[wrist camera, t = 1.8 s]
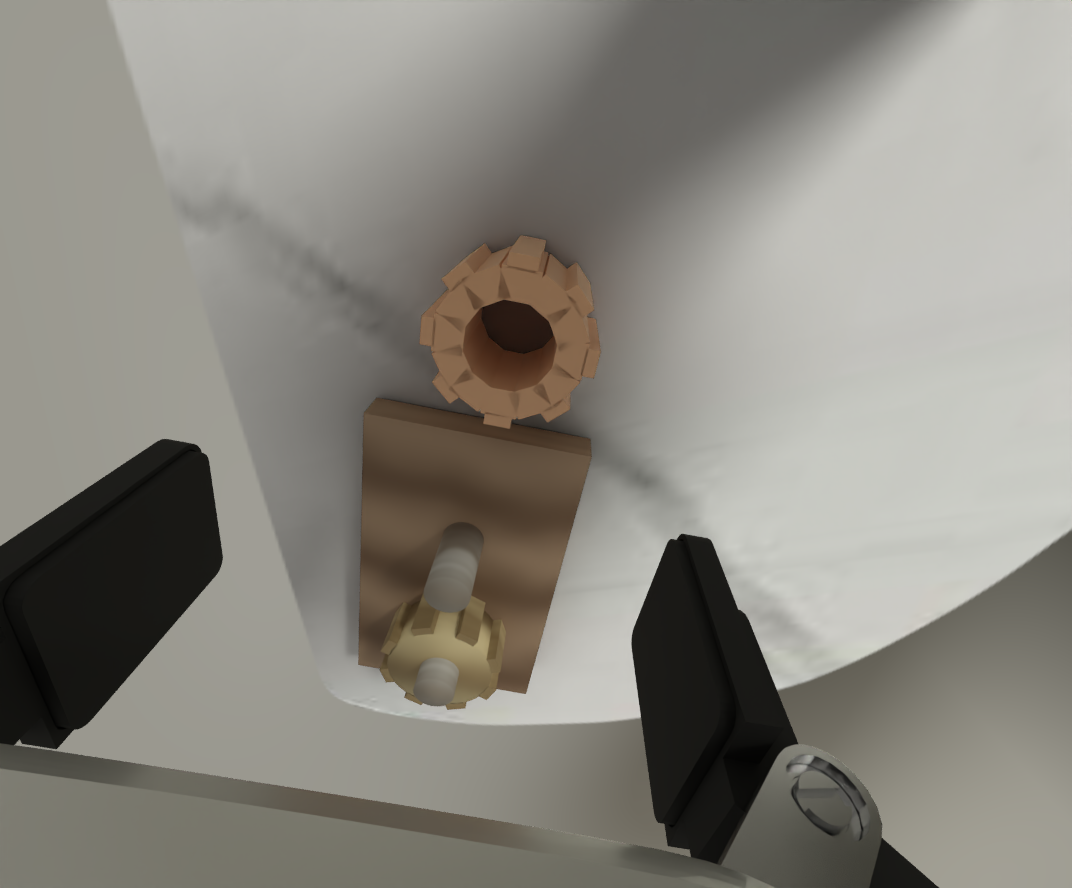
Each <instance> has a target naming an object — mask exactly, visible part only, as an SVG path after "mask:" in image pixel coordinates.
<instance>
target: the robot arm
mask: <svg viewBox="0 0 1072 888" xmlns="http://www.w3.org/2000/svg"><path fill="white" fill-rule="evenodd" d="M222 560H223V555H222V548H221V541H220V535H219V527H218V521H217V513H216V508H215V500H214V493H213V486H212V479H211V473H210V466H209V460H208V457H207V455H205V454H204V453H202V452H201V449H200V448H199V447H198V446H197V445H195V444H191V443H185V442H180V441H174V440H169V439H162V440H160V441H157V442H156V443H154V444H153V445H152V446H150V447H149V448H147V449H145V450H144V451H142V452H141V453H139V454H138V455H136V456H135V457H133V458H132V459H130V460H129V461H127V462H126V463H124V464H123V465H121V466H120V467H118V468H117V469H115V470H114V471H113V472H111V473H109V474H108V475H106V476H105V477H103V478H102V479H100V480H99V481H97V482H96V483H94V484H93V485H91V486H90V487H88V488H87V489H85V490H84V491H83V492H81V493H79V494H78V495H76V496H75V497H73V498H72V499H70V500H69V501H67V502H66V503H64V504H63V505H61V506H60V507H58V508H57V509H55V510H54V511H53V512H51V513H49V514H48V515H46V516H45V517H44V518H42V519H40V520H39V521H37V522H36V523H34V524H33V525H31V526H30V527H28V528H27V529H25V530H24V531H22V532H21V533H19V534H18V535H16V536H15V537H13V538H12V539H10V540H9V541H7V542H6V543H4V544H3V545H2V546H0V888H939V887H938V886H936V885H935V884H934V883H933V882H932V881H931V880H929V879H928V878H927V877H926V876H925V875H924V874H923V873H921V872H920V871H919V870H918V869H917V868H916V867H915V866H913V865H912V864H911V863H910V862H909V861H908V860H907V859H905V858H904V857H903V856H902V855H901V854H900V853H898V852H897V851H896V850H895V849H894V848H893V847H892V846H891V845H889V844H888V843H887V842H886V841H885V840H884V839H883V838H882V822H881V818H880V815H879V811H878V808H877V806H876V804H875V802H874V800H873V799H872V797H871V795H870V793H869V791H868V790H867V789H866V787H865V786H864V785H863V784H862V782H861V781H860V780H859V779H858V778H857V776H856V775H855V774H854V773H853V772H852V771H851V770H850V769H849V768H847V767H846V766H845V765H844V764H843V763H842V762H841V761H839V760H838V759H836V758H834V757H833V756H831V755H830V754H828V753H827V752H825V751H823V750H820V749H817V748H815V747H812V746H809V745H799V744H798V742H797V739H796V737H795V734H794V732H793V729H792V727H791V725H790V722H789V719H788V717H787V715H786V712H785V709H784V708H783V705H782V702H781V699H780V697H779V694H778V692H777V689H776V687H775V685H774V682H773V680H772V677H771V675H770V672H769V670H768V667H767V665H766V662H765V660H764V657H763V655H762V652H761V650H760V647H759V645H758V642H757V640H756V637H755V635H754V632H753V630H752V627H751V625H750V622H749V620H748V618H747V616H746V615H745V614H744V613H743V612H742V611H741V610H738V608H737V605H736V603H735V600H734V598H733V595H732V592H731V590H730V587H729V585H728V582H727V580H726V577H725V574H724V572H723V569H722V567H721V564H720V561H719V559H718V556H717V554H716V551H715V549H714V546H713V543H712V542H711V540H710V539H708V538H703V537H697V536H692V535H686V534H681V535H680V536H679V537H678V538H677V540H674V539H670V540H669V541H668V543H667V545H666V548H665V551H664V553H663V556H662V558H661V561H660V563H659V566H658V568H657V571H656V573H655V576H654V578H653V581H652V583H651V586H650V588H649V591H648V594H647V596H646V599H645V601H644V604H643V606H642V609H641V611H640V614H639V616H638V619H637V621H636V624H635V626H634V629H633V633H632V653H633V660H634V668H635V675H636V683H637V690H638V698H639V705H640V712H641V720H642V727H643V735H644V742H645V750H646V757H647V765H648V772H649V779H650V787H651V794H652V802H653V809H654V814H655V818H656V820H657V822H658V823H664V824H665V830H666V837H667V843H668V846H671V847H677V848H683V849H690V854H691V857H688V856H684V855H680V854H675V853H671V852H667V851H663V850H659V849H654V848H648V847H643V846H638V845H632V844H627V843H622V842H616V841H611V840H605V839H600V838H594V837H588V836H583V835H577V834H572V833H567V832H561V831H556V830H550V829H544V828H538V827H532V826H526V825H519V824H513V823H507V822H501V821H495V820H489V819H483V818H477V817H470V816H465V815H459V814H452V813H446V812H440V811H434V810H428V809H421V808H416V807H410V806H404V805H398V804H391V803H385V802H378V801H372V800H366V799H360V798H353V797H347V796H341V795H335V794H328V793H322V792H316V791H310V790H303V789H297V788H291V787H284V786H278V785H271V784H265V783H258V782H253V781H246V780H239V779H233V778H227V777H221V776H214V775H208V774H202V773H195V772H188V771H182V770H175V769H169V768H162V767H156V766H149V765H142V764H136V763H130V762H123V761H117V760H110V759H103V758H97V757H90V756H83V755H77V754H70V753H64V752H57V751H51V750H44V749H37V748H30V747H22V746H14V745H15V744H16V742H17V741H18V740H19V739H20V740H21V742H22V744H27V745H33V746H40V747H47V748H52V749H57V748H58V747H59V746H60V745H61V744H62V743H63V741H64V740H65V739H66V738H67V737H68V736H69V735H70V733H71V732H72V731H73V730H74V729H80V728H82V727H83V726H85V725H86V724H88V722H90V720H92V718H93V717H94V716H95V715H96V714H97V713H98V712H99V710H100V709H101V708H102V707H103V706H104V705H105V703H106V702H107V701H108V700H109V699H110V697H111V696H112V695H113V694H114V693H115V691H117V690H118V688H119V687H120V686H121V685H122V684H123V683H124V681H125V680H126V679H127V678H128V677H129V676H130V674H131V673H132V672H133V671H134V670H135V669H136V667H137V666H138V665H139V664H140V663H141V662H142V661H143V659H144V658H145V657H146V656H147V655H148V654H149V652H150V651H151V650H152V649H153V648H154V647H155V645H156V644H157V643H158V642H159V641H160V640H161V639H162V637H163V636H164V635H165V634H166V633H167V631H168V630H169V629H170V628H171V627H172V626H173V624H174V623H175V622H176V621H177V620H178V618H179V617H181V615H182V614H183V613H184V612H185V611H186V609H187V608H188V607H189V606H190V605H191V604H192V603H193V601H194V600H195V599H196V598H197V597H198V596H199V594H200V593H201V592H202V591H203V590H204V589H205V587H206V586H207V585H208V584H209V583H210V582H211V581H212V579H213V578H214V577H215V576H216V575H217V573H218V572H219V570H220V567H221V564H222Z"/></svg>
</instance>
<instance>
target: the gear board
mask: <svg viewBox="0 0 1072 888" xmlns="http://www.w3.org/2000/svg"><path fill="white" fill-rule="evenodd" d="M483 422H484V418H480V417H474V416H469V415H464V414H459V413H454V412H449V411H443V410H438V409H433V408H428V407H423V406H417V405H412V404H407V403H402V402H397V401H392V400H386V399H381V398H376V399H375V400H374V401H373V403H372V404H371V405H370V406H369V407H368V409H367V410H366V411H365V412H364V423H363V470H362V518H361V565H360V613H359V660H358V665H363V666H368V667H374V668H380V672H381V673H382V675H383V677H384V679H385V681H386V682H395V683H396V684H397V685H398V686H399V687H400V688H401V689H403V690H404V691H405V692H406V694H405V697H404V698H406V699H408V700H411V701H413V702H415V703H418V704H420V705H422V703H424V704H427V705H430V706H444V705H446V707H447V710H449V709H461V708H465V707H466V702H467V701H470V700H473V699H475V698H477V697H478V696H479V697H482V698H484V699H486V700H487V699H488V698H489V697H490V696H491V695H492V694H493V693H494V692H495V691H496V689H500V690H506V691H512V692H517V693H523V694H526V692H527V688H528V684H529V681H530V677H531V674H532V670H533V666H534V663H535V659H536V656H537V652H538V648H539V645H540V641H541V638H542V634H543V630H544V627H545V623H546V620H547V616H548V612H549V609H550V605H551V601H552V598H553V594H554V591H555V587H556V583H557V580H558V576H559V573H560V569H561V565H562V562H563V558H564V555H565V551H566V547H567V544H568V540H569V537H570V533H571V529H572V526H573V522H574V519H575V515H576V511H577V508H578V504H579V501H580V497H581V493H582V490H583V486H584V483H585V479H586V475H587V472H588V468H589V465H590V461H591V457H592V455H591V440H590V439H588V438H583V437H578V436H573V435H568V434H563V433H557V432H552V431H547V430H542V429H537V428H531V427H526V426H521V425H516V424H511V425H510V429H508V428H503V427H498V426H492V425H487V424H483Z"/></svg>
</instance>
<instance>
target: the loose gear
mask: <svg viewBox="0 0 1072 888" xmlns="http://www.w3.org/2000/svg"><path fill="white" fill-rule="evenodd" d="M545 244H546V240H542V239H537V238H533V237H528V236H523V235H520V237H519V238H518V240H517V241H516V243H515V244H514V245H513V246H510V247H507V248H505V249H502V250H499V251H497V252H494V253H491V251H490V250H489V248H488V247H487V245H486V244H485V243H484V244H483V245H482V246H480V247H479V248H478V249H476V250H475V251H474V252H472V253H471V254H470V255H468V256H467V257H466V258H464V259H463V260H462V261H461V262H460V263H459V264H458V265H457V266H456V267H454V268H453V269H452V270H451V271H450V272H449V273H448V274H447V275H445V276H444V277H443V278H442V281H443V282H444V283H445V285H446V286H447V287H448V289H447V290H446V291H445V292H444V293H443V294H442V295H441V297H440V298H439V299H438V300H437V301H436V302H435V303H434V304H433V305H432V306H431V307H430V308H429V309H428V310H427V311H426V312H425V313H424V314H423V315H422V317H421V330H420V344H421V345H427V346H431V351H433V352H432V356H433V358H434V360H435V362H436V364H437V367H438V369H439V372H438V374H437V375H436V377H435V378H434V380H433V381H432V383H433V384H434V385H435V387H436V388H437V389H438V390H439V391H440V393H441V394H442V395H443V396H444V398H445V399H446V400H447V401H448V402H449V404H450V403H451V402H453V401H454V400H456V399H458V398H461V399H462V400H463V401H464V402H466V403H467V404H468V405H470V406H471V407H472V408H474V409H475V410H476V411H477V412H478V411H479V410H480V409H481V411H480V413H483V414H485V415H484V422H483V424H487V425H492V426H498V427H503V428H508V429H510V425H511V421H512V419H514V420H516V417H518V420H519V419H523V418H526V417H529V416H533V415H536V414H540V413H541V415H542V416H543V417H544V419H545V420H546V421H547V423H548V422H549V421H551V420H553V419H555V418H556V417H558V416H560V415H561V414H563V413H565V412H567V411H568V410H570V392H571V391H572V390H573V389H574V388H575V387H576V386H577V385H578V384H579V383H580V380H581V379H582V376H584V377H589V378H594V376H595V372H596V368H597V364H598V361H599V357H600V353H601V349H600V343H599V336H598V330H597V323H596V319H594V318H589V317H587V314H589V313H590V312H592V311H594V305H593V298H592V292H591V285H590V282H589V281H588V279H587V278H586V276H585V274H584V273H583V271H582V270H581V268H580V266H579V265H578V263H577V262H576V263H574V264H573V265H572V266H570V267H569V268H566V267H565V266H564V265H562V264H561V263H560V262H559V261H558V260H557V259H556V258H555V257H554V256H553V255H552V254H550V255H549V256H548V252H544V250H545ZM501 300H509V301H514V302H519V303H524V304H529V305H531V306H532V307H533V308H534V309H535V310H536V311H538V312H539V313H540V314H541V315H542V316H543V317H544V318H546V319H547V320H548V321H549V323H550V326H551V328H552V331H553V334H554V336H553V337H552V338H551V339H550V340H549V341H548V342H547V343H546V344H545V346H544V347H543V348H540V349H537V350H534V351H531V352H528V353H525V354H522V353H517V352H512V351H506V350H504V349H502V348H501V347H500V346H499V345H498V344H496V343H495V342H494V341H493V340H492V339H490V338H489V337H488V334H487V332H486V329H485V327H484V324H483V322H482V319H481V316H482V308H483V307H484V306H487V305H490V304H493V303H496V302H499V301H501Z"/></svg>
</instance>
